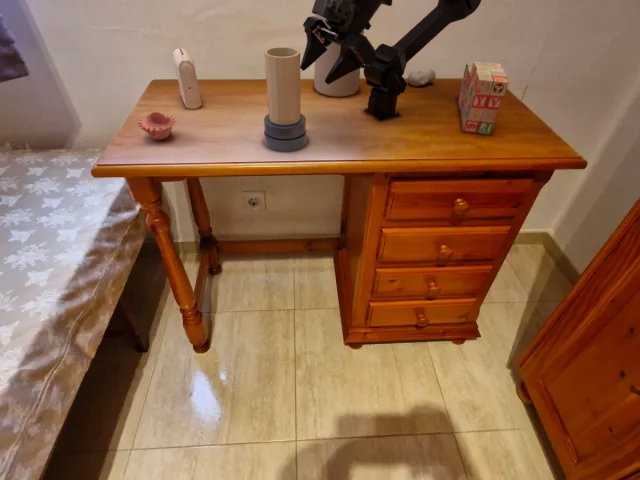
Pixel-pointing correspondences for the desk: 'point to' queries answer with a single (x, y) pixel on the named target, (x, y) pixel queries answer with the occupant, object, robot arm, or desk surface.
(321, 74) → the cylinder vase
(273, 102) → the cup
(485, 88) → the stack of blocks
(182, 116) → the desk surface
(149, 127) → the pink clay bowl
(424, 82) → the smooth white sculpture
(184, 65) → the photo printer
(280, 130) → the round ridged metallic base
